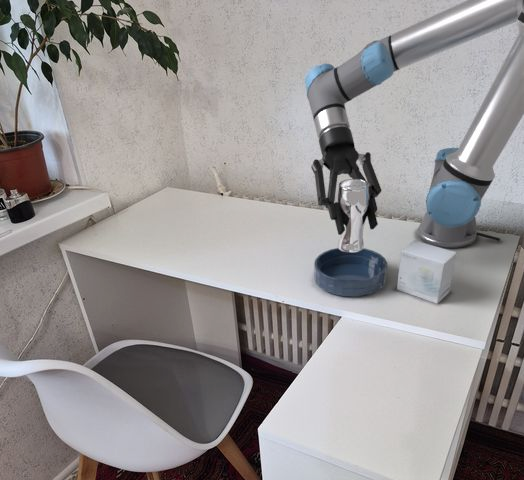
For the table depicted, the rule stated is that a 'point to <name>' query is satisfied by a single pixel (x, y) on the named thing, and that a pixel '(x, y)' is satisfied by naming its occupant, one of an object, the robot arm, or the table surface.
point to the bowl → (350, 272)
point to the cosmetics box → (426, 271)
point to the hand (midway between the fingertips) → (358, 229)
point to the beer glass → (353, 213)
